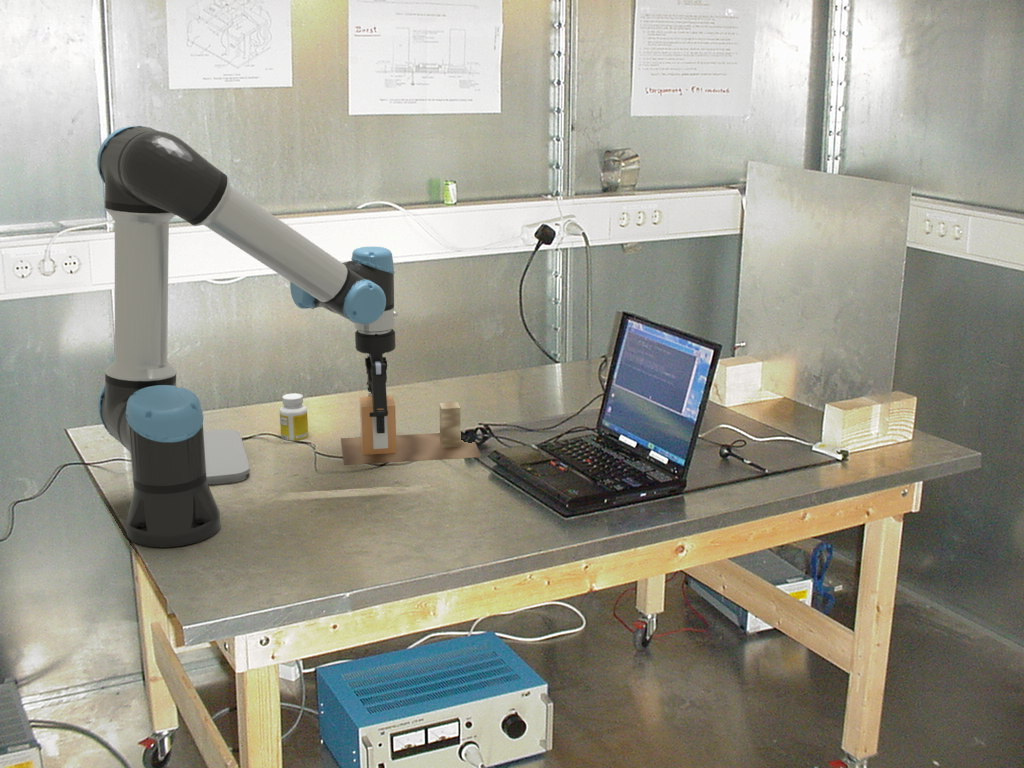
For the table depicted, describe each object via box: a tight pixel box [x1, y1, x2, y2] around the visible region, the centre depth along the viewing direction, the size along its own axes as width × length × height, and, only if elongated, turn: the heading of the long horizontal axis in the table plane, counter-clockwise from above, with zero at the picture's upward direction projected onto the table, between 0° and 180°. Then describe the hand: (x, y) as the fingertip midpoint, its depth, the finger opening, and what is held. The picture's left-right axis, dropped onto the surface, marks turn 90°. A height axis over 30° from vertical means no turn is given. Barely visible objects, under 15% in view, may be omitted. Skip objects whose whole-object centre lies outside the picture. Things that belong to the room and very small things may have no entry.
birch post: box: [439, 401, 462, 448], centre depth 240 cm, size 4×4×8 cm
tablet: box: [203, 428, 251, 486], centre depth 235 cm, size 16×26×2 cm, turn 17°
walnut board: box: [340, 432, 482, 466], centre depth 239 cm, size 26×15×2 cm, turn 100°
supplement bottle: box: [279, 392, 309, 441], centre depth 244 cm, size 5×5×10 cm
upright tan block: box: [359, 394, 397, 455], centre depth 237 cm, size 6×6×10 cm
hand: (378, 436), depth 238 cm, fingers open, 13 cm apart
